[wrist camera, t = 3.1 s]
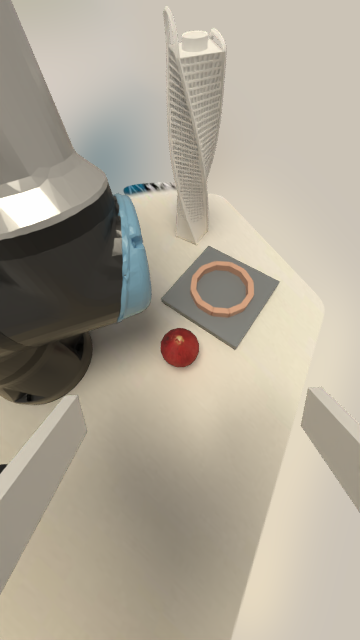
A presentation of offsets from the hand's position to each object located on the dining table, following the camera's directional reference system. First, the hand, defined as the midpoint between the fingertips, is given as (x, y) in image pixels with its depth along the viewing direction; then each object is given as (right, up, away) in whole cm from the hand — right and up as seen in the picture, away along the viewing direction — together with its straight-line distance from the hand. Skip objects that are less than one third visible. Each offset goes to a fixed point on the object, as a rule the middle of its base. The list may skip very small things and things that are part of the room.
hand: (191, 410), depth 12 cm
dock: (+7, +10, +27) cm, 29 cm away
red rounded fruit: (-1, -1, +22) cm, 22 cm away
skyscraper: (+2, +25, +34) cm, 42 cm away
